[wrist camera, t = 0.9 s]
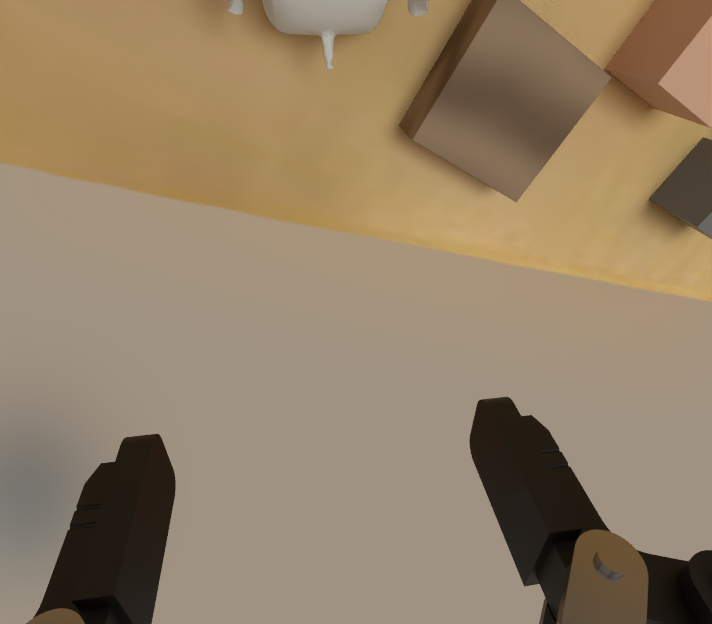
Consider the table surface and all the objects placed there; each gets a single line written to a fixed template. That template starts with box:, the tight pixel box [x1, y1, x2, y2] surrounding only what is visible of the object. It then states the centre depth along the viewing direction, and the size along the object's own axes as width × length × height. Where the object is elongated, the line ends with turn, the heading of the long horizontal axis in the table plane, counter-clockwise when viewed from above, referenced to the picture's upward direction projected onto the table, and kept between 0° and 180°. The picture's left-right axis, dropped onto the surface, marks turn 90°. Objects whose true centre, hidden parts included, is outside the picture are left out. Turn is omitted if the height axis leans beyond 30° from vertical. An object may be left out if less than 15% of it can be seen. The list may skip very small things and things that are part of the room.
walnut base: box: [399, 0, 612, 202], centre depth 31 cm, size 9×9×4 cm
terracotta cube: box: [605, 0, 712, 128], centre depth 30 cm, size 6×6×6 cm
